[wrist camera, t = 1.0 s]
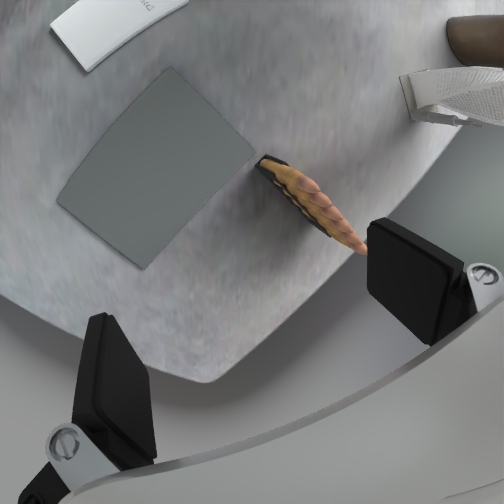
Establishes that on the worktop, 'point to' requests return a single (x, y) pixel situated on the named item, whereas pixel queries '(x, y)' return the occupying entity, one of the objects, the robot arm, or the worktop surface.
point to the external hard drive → (107, 25)
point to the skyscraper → (455, 95)
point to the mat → (154, 169)
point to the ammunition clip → (310, 202)
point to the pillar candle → (477, 39)
